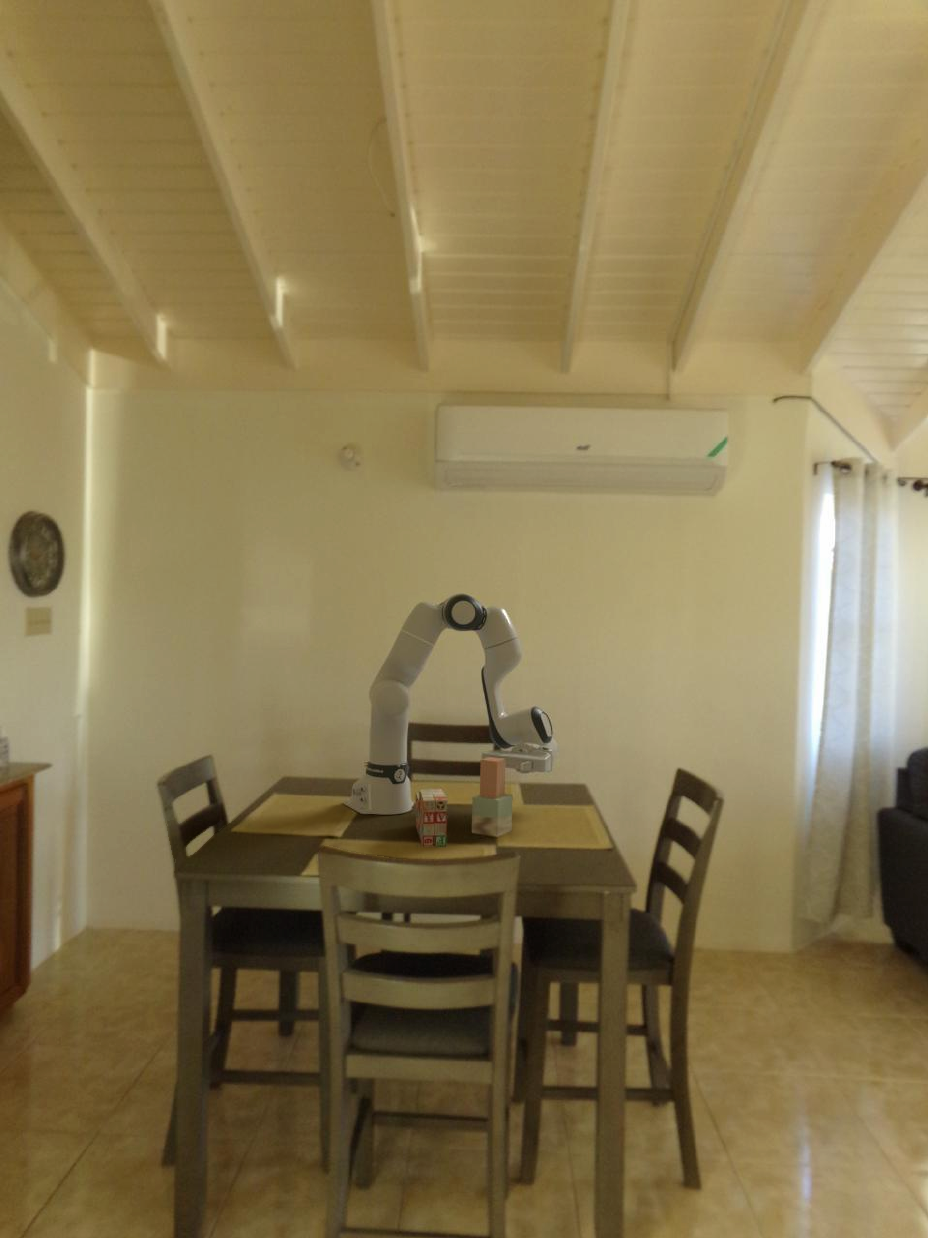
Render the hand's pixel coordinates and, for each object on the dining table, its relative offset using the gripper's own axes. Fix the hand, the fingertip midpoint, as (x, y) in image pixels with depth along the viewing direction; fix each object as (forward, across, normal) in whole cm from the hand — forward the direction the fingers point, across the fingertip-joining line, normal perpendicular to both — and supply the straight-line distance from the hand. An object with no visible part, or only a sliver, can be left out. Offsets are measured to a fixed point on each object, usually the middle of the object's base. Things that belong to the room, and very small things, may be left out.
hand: (503, 765), depth 260 cm
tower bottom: (+6, 0, +17) cm, 18 cm away
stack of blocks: (+19, -12, +17) cm, 28 cm away
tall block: (+7, 0, +7) cm, 10 cm away
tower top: (+6, 0, +12) cm, 14 cm away
